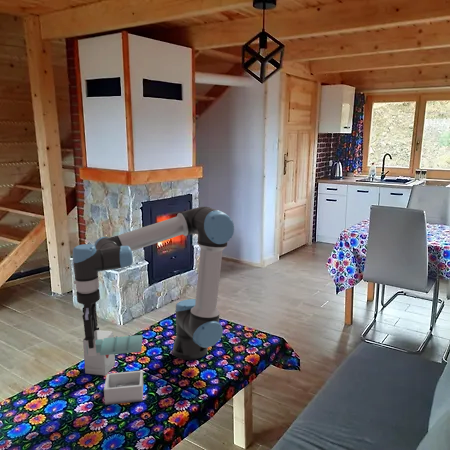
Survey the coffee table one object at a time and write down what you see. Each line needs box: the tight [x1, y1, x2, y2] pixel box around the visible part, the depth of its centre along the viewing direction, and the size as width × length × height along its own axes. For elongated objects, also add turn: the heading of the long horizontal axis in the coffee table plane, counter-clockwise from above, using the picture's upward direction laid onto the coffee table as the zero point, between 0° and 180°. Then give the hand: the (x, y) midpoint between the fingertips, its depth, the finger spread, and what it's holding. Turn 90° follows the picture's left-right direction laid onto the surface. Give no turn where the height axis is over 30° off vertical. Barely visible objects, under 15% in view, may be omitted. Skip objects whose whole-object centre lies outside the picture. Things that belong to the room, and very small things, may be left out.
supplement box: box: [82, 329, 116, 377], centre depth 170 cm, size 9×9×15 cm
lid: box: [86, 334, 143, 355], centre depth 150 cm, size 19×11×3 cm, turn 99°
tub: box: [103, 370, 144, 406], centre depth 154 cm, size 13×10×6 cm
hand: (93, 351), depth 149 cm, fingers closed on lid, 4 cm apart
